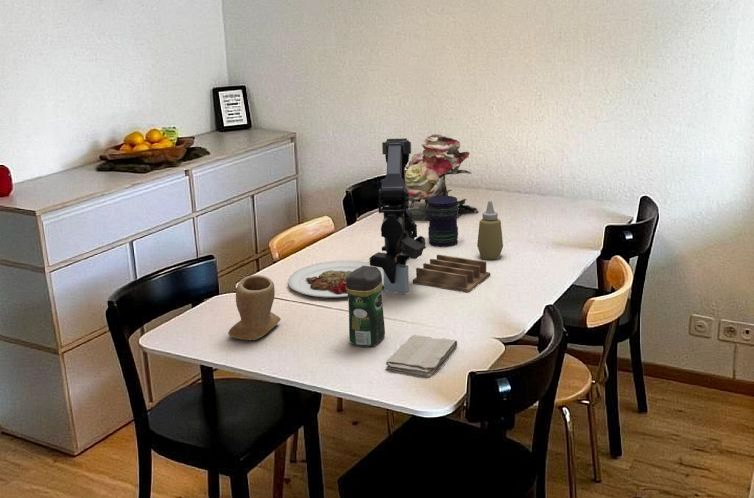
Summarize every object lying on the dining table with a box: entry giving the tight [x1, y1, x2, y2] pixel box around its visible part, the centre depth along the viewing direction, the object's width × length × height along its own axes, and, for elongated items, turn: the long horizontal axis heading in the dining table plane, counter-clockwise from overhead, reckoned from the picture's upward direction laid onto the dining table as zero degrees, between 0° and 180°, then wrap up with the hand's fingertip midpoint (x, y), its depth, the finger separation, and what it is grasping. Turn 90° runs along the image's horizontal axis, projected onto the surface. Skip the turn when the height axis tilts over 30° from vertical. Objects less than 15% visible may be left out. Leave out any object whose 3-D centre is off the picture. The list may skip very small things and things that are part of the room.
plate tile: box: [383, 264, 410, 295], centre depth 239 cm, size 7×2×8 cm, turn 59°
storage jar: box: [427, 195, 459, 248], centre depth 278 cm, size 10×10×15 cm
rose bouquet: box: [405, 133, 479, 222], centre depth 308 cm, size 26×29×30 cm
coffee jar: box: [346, 266, 386, 348], centre depth 206 cm, size 10×8×19 cm
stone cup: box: [227, 274, 281, 341], centre depth 215 cm, size 15×12×15 cm
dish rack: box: [411, 254, 491, 293], centre depth 246 cm, size 18×15×4 cm
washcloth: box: [385, 334, 458, 378], centre depth 198 cm, size 12×18×3 cm, turn 156°
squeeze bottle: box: [476, 200, 504, 260], centre depth 262 cm, size 8×8×18 cm
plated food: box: [287, 259, 384, 298], centre depth 248 cm, size 30×30×3 cm
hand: (396, 281), depth 239 cm, fingers open, 4 cm apart
